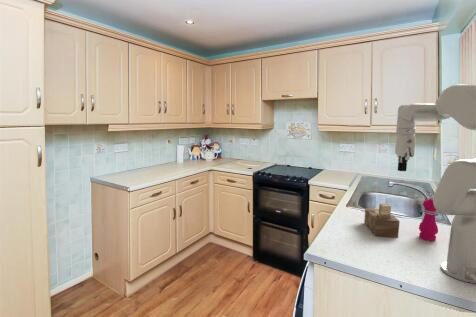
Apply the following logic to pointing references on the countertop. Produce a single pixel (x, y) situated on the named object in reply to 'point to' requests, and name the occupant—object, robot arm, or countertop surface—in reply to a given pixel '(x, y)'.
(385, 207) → the peg
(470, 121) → the robot arm
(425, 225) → the pepper mill
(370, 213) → the socket block
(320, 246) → the countertop surface
